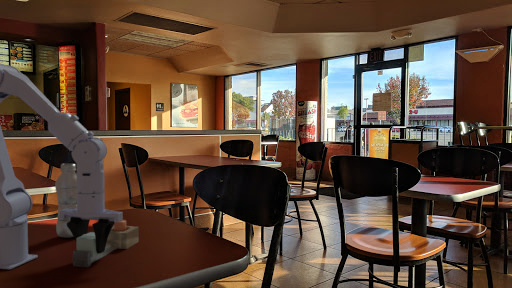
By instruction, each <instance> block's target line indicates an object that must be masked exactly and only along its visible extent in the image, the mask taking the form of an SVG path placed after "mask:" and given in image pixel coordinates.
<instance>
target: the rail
mask: <svg viewBox="0 0 512 288" xmlns="http://www.w3.org/2000/svg"><path fill="white" fill-rule="evenodd" d="M117 249H119V248H118V242H109V243H107V244H106V251H104V252H102V253H100V254H98V255H97V256H95V257H91V251H79V250H77V249H75V250H74V251H73V252H72V266H73V267H79V268H90V267H91V266H92V264H93V263H94V262H96V261H98V260H99V259H101V258H103V257H105V256H107V255H109V254H110V253H113V252H114V251H115V250H117Z"/></svg>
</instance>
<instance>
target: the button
mask: <svg viewBox="0 0 512 288" xmlns="http://www.w3.org/2000/svg"><path fill="white" fill-rule="evenodd" d="M113 226H114V231H121V232H124V231H125V230H126V226H127V220H126V219H123V220H122V221H120V222H115V224H114V225H113Z"/></svg>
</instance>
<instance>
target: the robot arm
mask: <svg viewBox="0 0 512 288" xmlns="http://www.w3.org/2000/svg"><path fill="white" fill-rule="evenodd" d="M10 96H14V97H17V98H20V99H21V100H22V101H23V102H24V103H25V104H26V105H28V106H29V107H30V108H31V109H33V111H35V112H36V113H37V114H38V115H39V116H40V117H41V118H43V119H44V120H45V121H46V122H47V130H48V132H50V133H51V135H53V136H54V138H56V139H57V141H59V142H60V143H61V144H62V145H63V146H64V147H65V148H66V149H68V151H71V153H70V154H71V158H72V160H73V161H74V162H75V164H76V174H77V209H63V210H60V219H66V218H69V219H70V222H67V227H68V228H69V230H70V231H71V233H72V235H73V237H72V238H73V239H74V242H75V243H76V238H78V237H81V236H82V235H84V234H87V233H89V232H88V231H89V225H90V221H96V222H94V223H92V228H93V232H95V237H96V251H97V253H98V254H100V253H102V252H104V251H105V247H106V242H107V239H108V236H109V233H110V231H111V229H112V227H113V226H114V224H115V222H120V221H122V220H124V217H123V215H124V214H123V213H124V212H123V211H116V210H112V209H111V210H110V209H107V208H106V206H105V197H106V196H105V165H104V164H105V163H104V162H105V160H104V159H105V158H106V156H107V154H108V148H107V145H106V144H105V142H104V141H103V139H102V138H99V137H94V136H95V133H94V132H93V131H91V130H90V131H89V130H87V128H86V127H85V126H84V125H82V123H80V121H79V119H80V118H79V116H77V115H76V114H71V113H70V112H61V111H60V110H59V109H58V108H57V107H56V106H55V104H53V103H52V101H50V100H49V98H47V96H46V95H45V94H44V93H42V91H41V90H40V89H39V88H38V87H37V86H36V85H35V84H34V83H33V82H32V80H30V78H29V77H28V76H27V75H26V74H23V73H22V72H21V71H20V70H19V69H18V68H17V67H15V66H14V65H9V64H4V63H0V104H1V103H2V102H3V100H5V99H7V98H8V97H10ZM33 202H34V201H33V198H32V196H31V195H30V194H29V193H28V191H27V190H26V188H25V185H24V183H23V182H22V181H21V180H20V179H18V178H17V177H16V175H15V171H14V169H13V164H12V161H11V158H10V154H9V151H8V147H7V143H6V140H5V137H4V133H3V129H2V125H0V270H1V269H2V270H12V269H15V268H17V267H19V266H21V265H23V264H26V263H27V262H30V261H32V260H34V259H37V258H38V254H29V237H28V235H29V233H28V228H29V227H28V213H29V212H30V211H31V210H32V207H33V204H34V203H33Z"/></svg>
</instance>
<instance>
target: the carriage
mask: <svg viewBox="0 0 512 288" xmlns="http://www.w3.org/2000/svg"><path fill="white" fill-rule="evenodd" d="M75 244H76V247H75V248H76V250H79V251H91V257H95V256H97V255H98V253H97V251H96V237H95V232H94V231H91V232H87V234H84V235H82V236H81V237H78V238H76V242H75ZM105 251H106V247H105Z"/></svg>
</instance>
